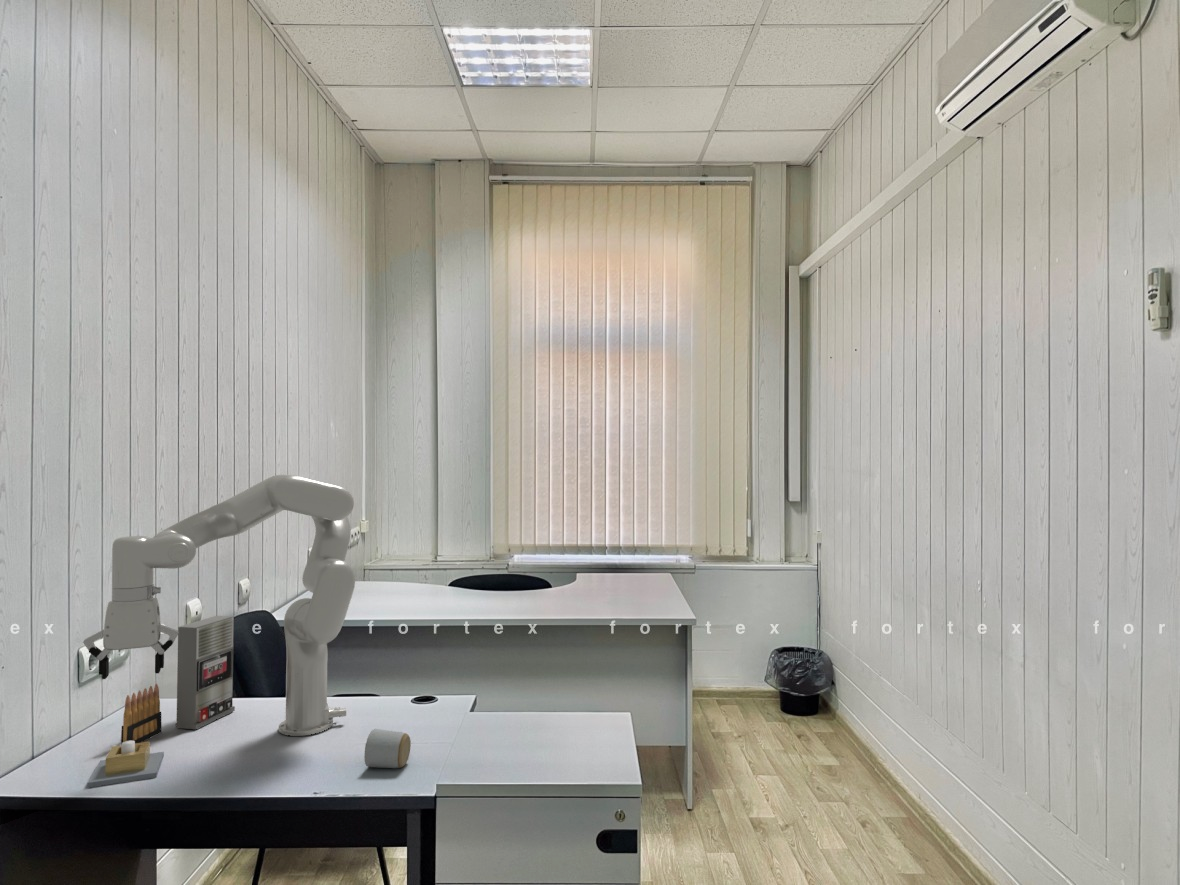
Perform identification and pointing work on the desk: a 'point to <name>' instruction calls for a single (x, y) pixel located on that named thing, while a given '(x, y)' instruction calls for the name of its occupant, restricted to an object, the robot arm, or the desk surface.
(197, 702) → the cassette tape recorder
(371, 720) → the desk surface
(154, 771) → the post plate
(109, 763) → the collar
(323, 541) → the robot arm
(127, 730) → the ammunition clip
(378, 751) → the grey tan-ended cylinder
